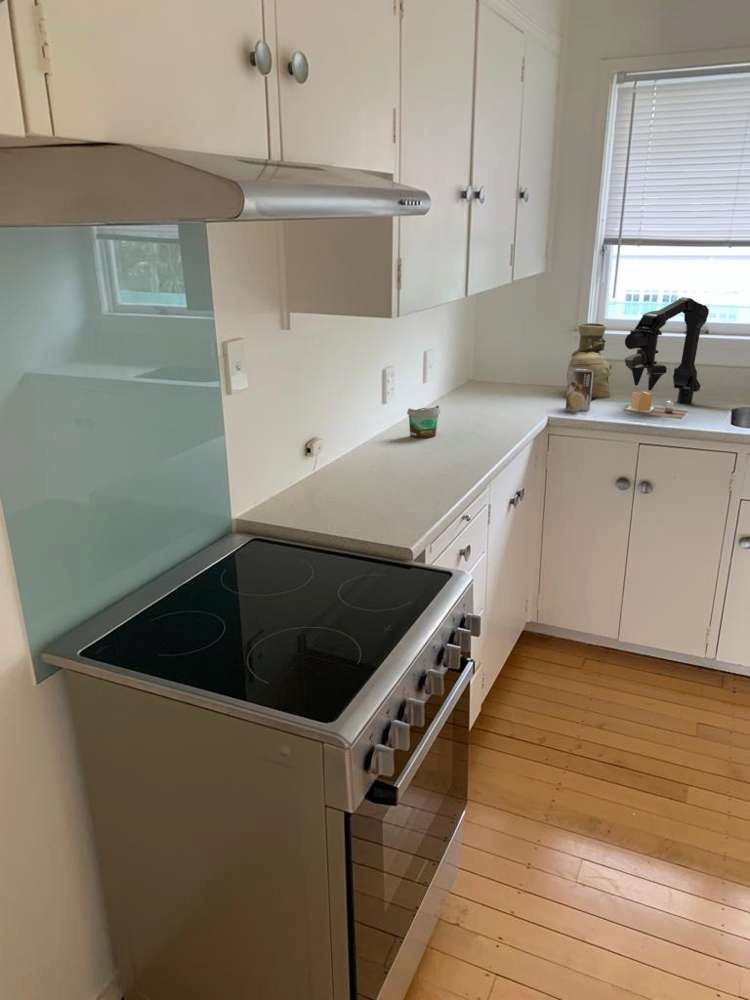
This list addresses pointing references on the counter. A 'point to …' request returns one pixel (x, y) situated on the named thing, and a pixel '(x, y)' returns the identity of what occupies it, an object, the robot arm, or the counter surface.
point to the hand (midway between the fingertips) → (642, 387)
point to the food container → (423, 422)
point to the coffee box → (579, 389)
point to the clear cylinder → (669, 407)
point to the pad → (640, 410)
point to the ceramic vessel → (593, 358)
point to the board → (661, 412)
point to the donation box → (641, 400)
